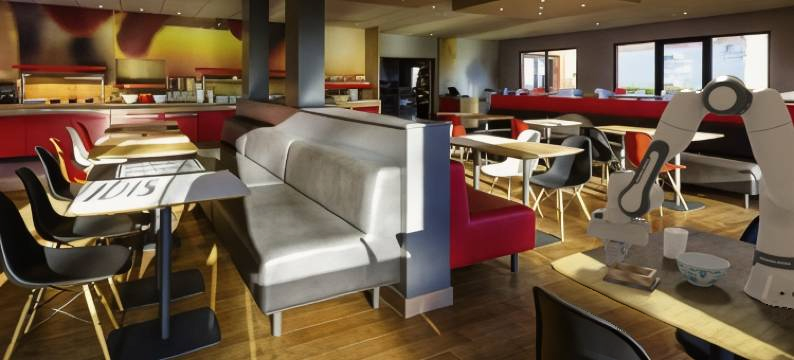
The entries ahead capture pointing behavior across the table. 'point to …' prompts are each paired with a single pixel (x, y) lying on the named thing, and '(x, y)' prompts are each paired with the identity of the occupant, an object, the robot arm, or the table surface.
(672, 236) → the white cup
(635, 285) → the locating plate
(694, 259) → the chinaware
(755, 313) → the table surface
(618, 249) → the medicine box
